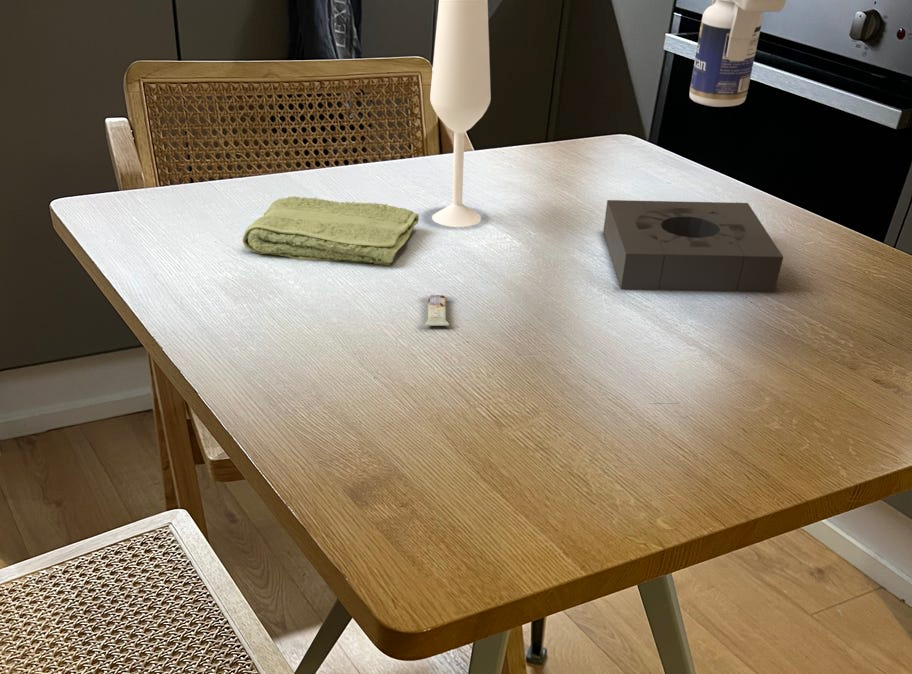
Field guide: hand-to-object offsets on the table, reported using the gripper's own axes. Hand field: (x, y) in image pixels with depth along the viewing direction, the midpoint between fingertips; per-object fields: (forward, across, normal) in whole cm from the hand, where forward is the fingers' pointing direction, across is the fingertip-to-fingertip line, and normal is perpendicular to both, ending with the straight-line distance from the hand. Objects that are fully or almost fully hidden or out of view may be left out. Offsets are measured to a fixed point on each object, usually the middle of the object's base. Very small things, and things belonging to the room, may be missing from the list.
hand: (726, 51), depth 90 cm
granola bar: (+21, -12, +27) cm, 36 cm away
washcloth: (+21, +7, +39) cm, 44 cm away
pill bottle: (+4, 0, 0) cm, 4 cm away
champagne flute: (+21, +15, +25) cm, 36 cm away
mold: (+21, +3, 0) cm, 21 cm away
